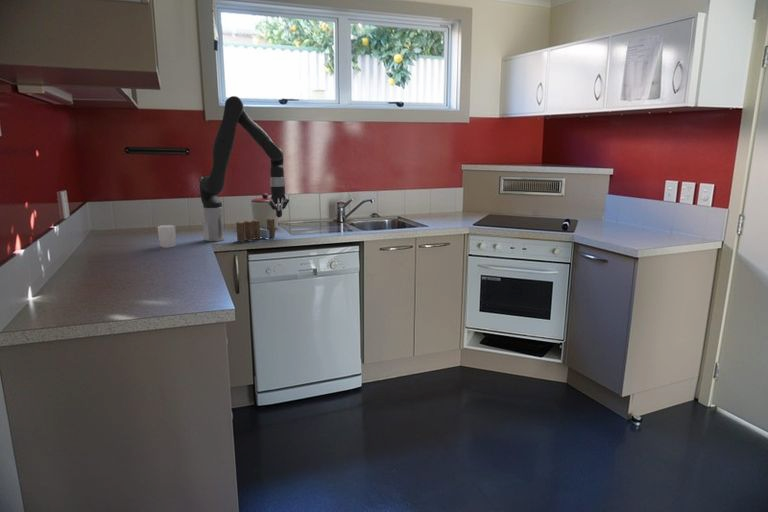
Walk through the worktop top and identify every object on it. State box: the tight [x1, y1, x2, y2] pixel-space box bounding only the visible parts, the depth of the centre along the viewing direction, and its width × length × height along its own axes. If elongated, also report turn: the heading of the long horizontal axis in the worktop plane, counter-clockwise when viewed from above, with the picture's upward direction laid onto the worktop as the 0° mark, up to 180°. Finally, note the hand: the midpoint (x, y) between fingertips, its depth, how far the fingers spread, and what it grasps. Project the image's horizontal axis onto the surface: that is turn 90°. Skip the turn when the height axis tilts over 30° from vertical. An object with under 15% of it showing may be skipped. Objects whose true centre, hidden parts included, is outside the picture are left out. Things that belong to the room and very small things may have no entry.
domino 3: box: [251, 220, 261, 240], centre depth 271 cm, size 2×5×10 cm, turn 45°
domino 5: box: [267, 218, 276, 238], centre depth 277 cm, size 2×5×10 cm, turn 45°
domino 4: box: [260, 228, 271, 239], centre depth 275 cm, size 2×5×10 cm
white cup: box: [157, 224, 176, 249], centre depth 250 cm, size 8×8×10 cm
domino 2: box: [243, 220, 254, 241], centre depth 268 cm, size 2×5×10 cm, turn 45°
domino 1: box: [236, 221, 246, 243], centre depth 264 cm, size 2×5×10 cm, turn 45°
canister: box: [249, 193, 280, 229], centre depth 304 cm, size 18×18×21 cm
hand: (279, 217), depth 280 cm, fingers closed
